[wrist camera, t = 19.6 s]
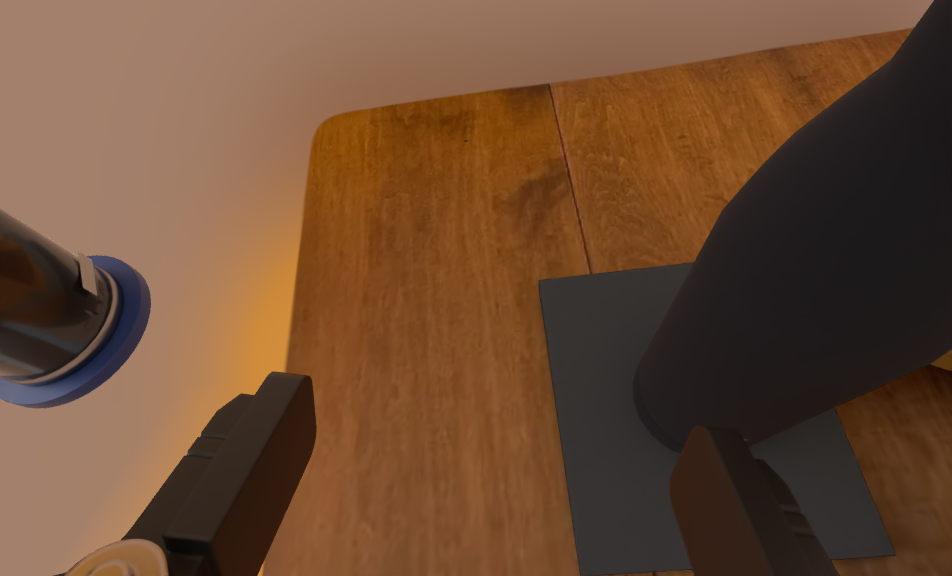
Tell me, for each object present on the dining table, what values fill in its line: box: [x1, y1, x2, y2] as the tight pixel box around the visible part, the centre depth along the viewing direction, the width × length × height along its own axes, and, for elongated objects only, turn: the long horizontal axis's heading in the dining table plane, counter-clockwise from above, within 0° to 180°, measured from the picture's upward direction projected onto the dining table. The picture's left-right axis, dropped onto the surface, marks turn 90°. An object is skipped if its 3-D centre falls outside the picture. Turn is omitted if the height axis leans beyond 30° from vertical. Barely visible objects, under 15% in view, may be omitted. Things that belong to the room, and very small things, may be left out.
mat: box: [539, 262, 896, 576], centre depth 26 cm, size 14×16×1 cm
